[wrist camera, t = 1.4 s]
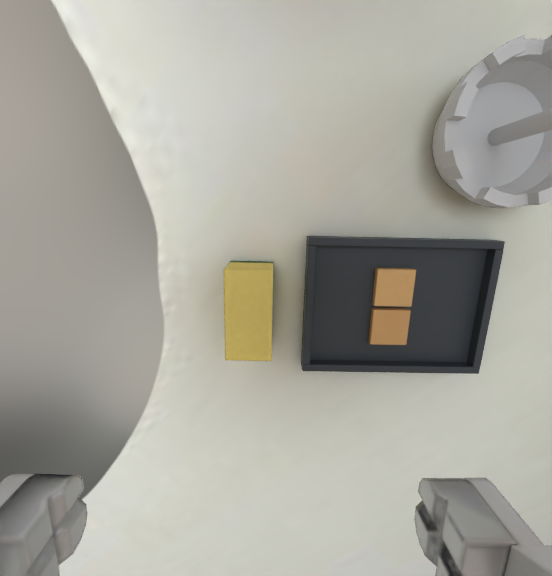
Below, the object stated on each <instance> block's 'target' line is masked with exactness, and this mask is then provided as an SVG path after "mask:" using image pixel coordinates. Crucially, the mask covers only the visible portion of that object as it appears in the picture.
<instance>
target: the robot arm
mask: <svg viewBox="0 0 552 576" xmlns="http://www.w3.org/2000/svg"><path fill="white" fill-rule="evenodd" d="M83 490H84V486H83V480H82V477H80V476H77V475H56V474H13V475H10V476H8V477H6V478H5V479H4V480H3V481H2V482H1V483H0V576H60V575H59V565H60V564H61V563H62V562H63V561H65V560H66V559H67V558H68V557H70V556H71V555H72V554H73V553H74V551H75V549H76V547H77V546H78V544H79V542H80V540H81V538H82V535H83V532H84V529H85V526H86V520H87V507H86V504H85V503H84V502H83V501H82V500H81V498H79V496H80V494H81V493H82V491H83ZM418 493H419V494H420V496H421V498H422V501H421V502H420V503H419V504H418V505H417V506H416V510H415V526H416V533H417V536H418V540H419V543H420V545H421V548H422V550H423V552H424V555H425V556H426V557H427V558H428V559H429V560H430V561H431V562H432V563H433V564H435V565H436V566H437V568H436V575H435V576H552V546H545V545H544V544H543V543H542V542H541V541H540V539H539V538H538V537H537V536H536V535H535V533H534V532H533V531H532V530H531V529H530V527H529V526H528V525H527V524H526V523H525V521H524V520H523V519H522V518H521V517H520V515H519V514H518V513H517V512H516V511H515V509H514V508H513V507H512V506H511V505H510V503H509V502H508V501H507V500H506V499H505V497H504V496H503V495H502V494H501V493H500V491H499V490H498V489H497V488H496V487H495V485H494V484H493V483H492V482H491V481H489V480H488V479H486V478H422V480H421V481H420V483H419V489H418Z"/></svg>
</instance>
